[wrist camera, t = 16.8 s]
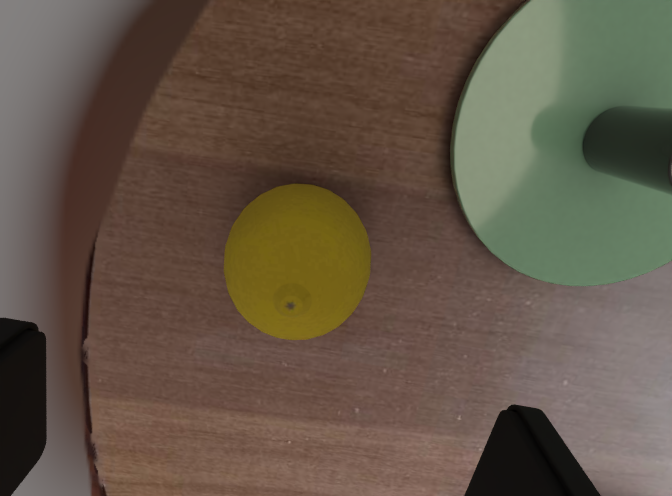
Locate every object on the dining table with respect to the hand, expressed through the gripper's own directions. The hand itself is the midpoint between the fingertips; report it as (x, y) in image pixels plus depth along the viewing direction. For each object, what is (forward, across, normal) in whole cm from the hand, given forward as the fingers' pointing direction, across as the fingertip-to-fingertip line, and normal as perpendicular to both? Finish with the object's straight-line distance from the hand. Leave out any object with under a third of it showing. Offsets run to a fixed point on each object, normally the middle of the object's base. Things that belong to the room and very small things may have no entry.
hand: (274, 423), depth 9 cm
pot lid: (+12, -12, -7) cm, 18 cm away
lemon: (+13, 0, 0) cm, 13 cm away
